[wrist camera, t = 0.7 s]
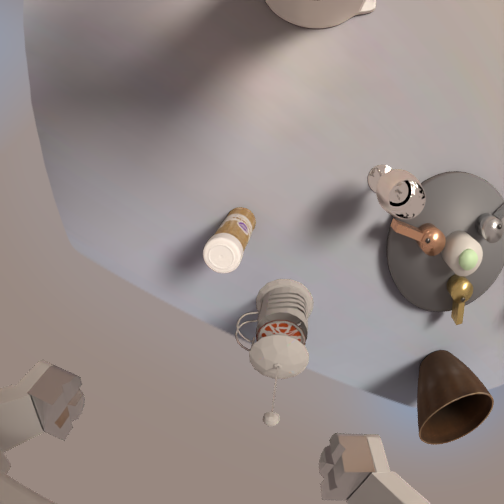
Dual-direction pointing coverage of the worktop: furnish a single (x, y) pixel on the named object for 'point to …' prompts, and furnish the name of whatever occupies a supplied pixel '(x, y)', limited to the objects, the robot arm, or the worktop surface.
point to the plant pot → (449, 399)
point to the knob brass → (459, 295)
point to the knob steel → (491, 225)
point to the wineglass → (397, 191)
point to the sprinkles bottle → (229, 241)
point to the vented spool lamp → (280, 333)
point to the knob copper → (422, 236)
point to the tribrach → (448, 242)
